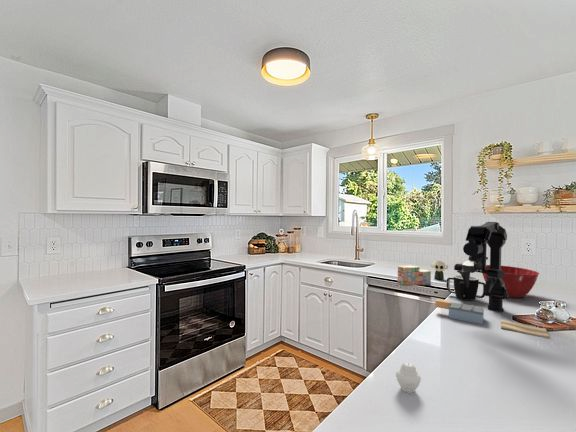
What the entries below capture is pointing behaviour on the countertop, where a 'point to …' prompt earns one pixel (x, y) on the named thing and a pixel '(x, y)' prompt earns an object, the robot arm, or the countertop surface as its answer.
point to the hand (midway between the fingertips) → (477, 289)
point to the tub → (466, 316)
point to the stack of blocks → (413, 276)
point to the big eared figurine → (439, 269)
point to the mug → (465, 288)
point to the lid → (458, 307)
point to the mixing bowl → (517, 280)
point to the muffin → (408, 377)
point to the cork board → (524, 328)
